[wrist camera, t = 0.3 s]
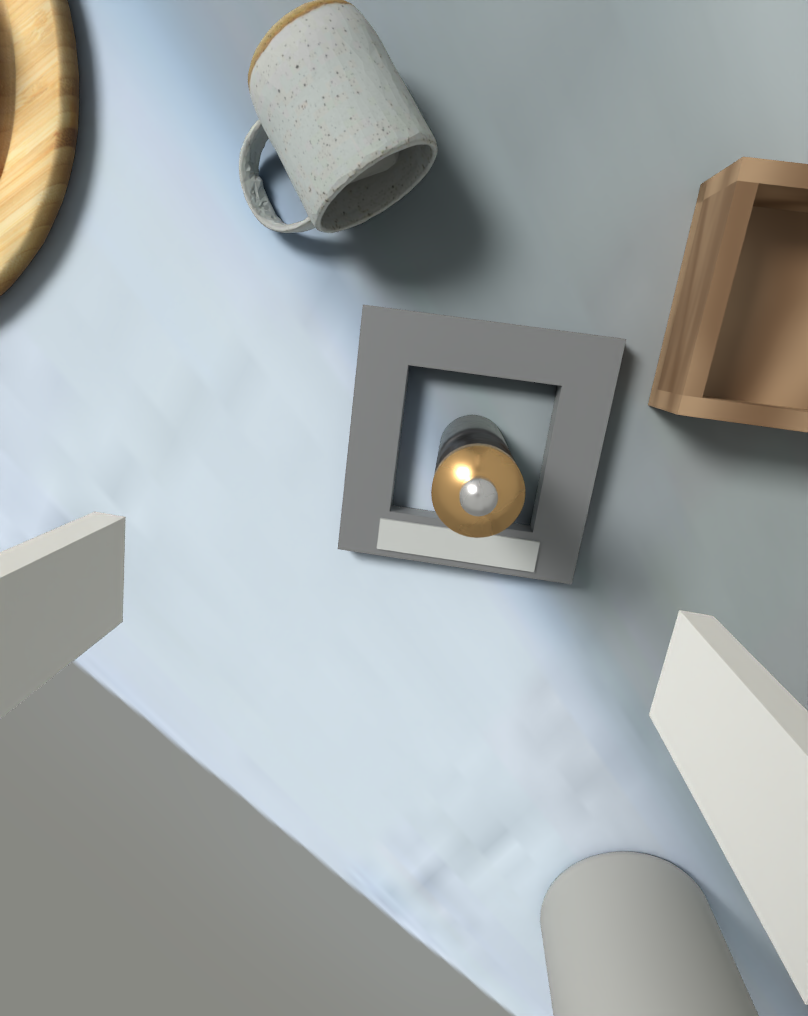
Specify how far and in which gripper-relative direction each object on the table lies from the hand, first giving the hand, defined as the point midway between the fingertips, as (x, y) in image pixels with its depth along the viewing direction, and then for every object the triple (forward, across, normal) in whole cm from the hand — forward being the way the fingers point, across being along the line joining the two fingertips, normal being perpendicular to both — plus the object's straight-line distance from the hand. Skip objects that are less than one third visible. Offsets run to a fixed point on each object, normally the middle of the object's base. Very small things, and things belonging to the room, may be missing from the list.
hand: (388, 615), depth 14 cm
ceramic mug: (+24, -8, +16) cm, 30 cm away
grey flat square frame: (+24, +2, +1) cm, 25 cm away
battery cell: (+24, +2, +1) cm, 25 cm away
